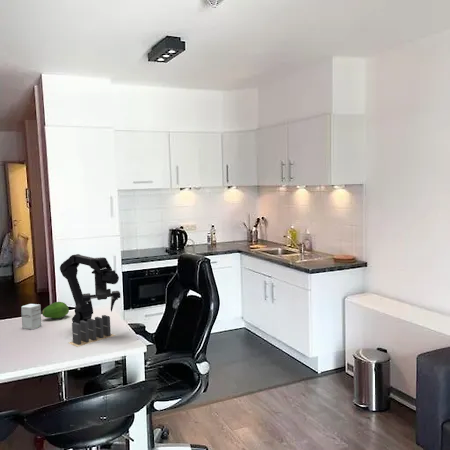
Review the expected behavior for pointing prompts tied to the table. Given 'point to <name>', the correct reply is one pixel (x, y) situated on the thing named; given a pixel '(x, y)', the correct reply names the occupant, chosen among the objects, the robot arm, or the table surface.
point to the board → (91, 340)
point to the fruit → (55, 310)
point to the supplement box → (31, 316)
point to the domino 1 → (76, 333)
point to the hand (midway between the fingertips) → (102, 312)
